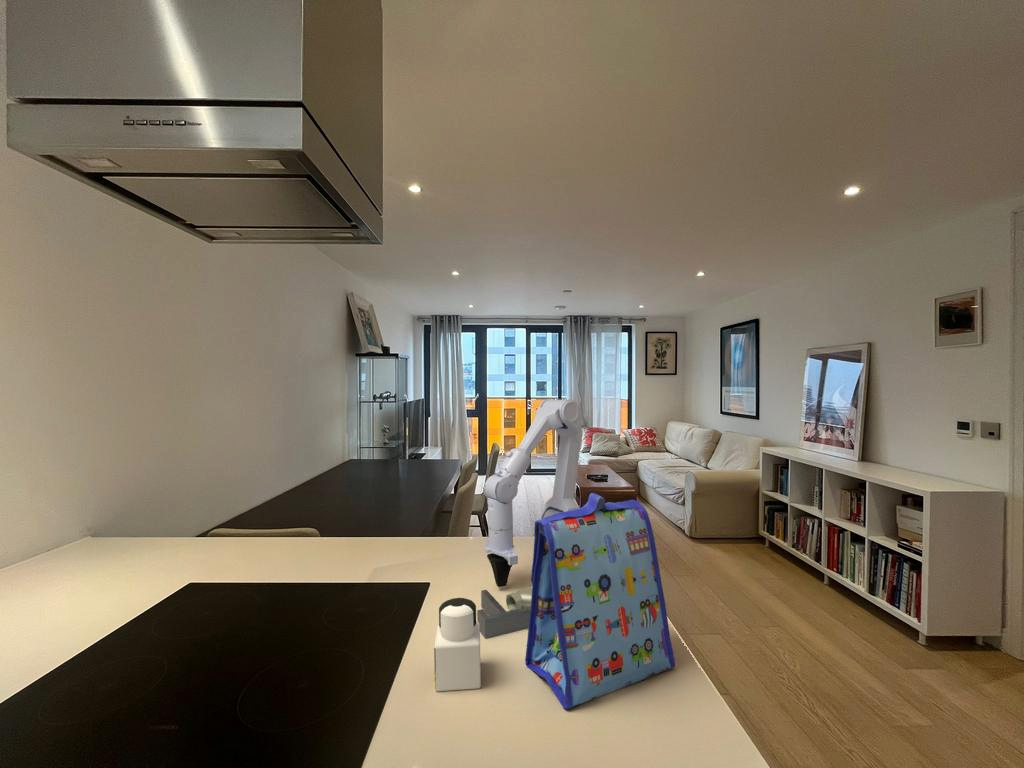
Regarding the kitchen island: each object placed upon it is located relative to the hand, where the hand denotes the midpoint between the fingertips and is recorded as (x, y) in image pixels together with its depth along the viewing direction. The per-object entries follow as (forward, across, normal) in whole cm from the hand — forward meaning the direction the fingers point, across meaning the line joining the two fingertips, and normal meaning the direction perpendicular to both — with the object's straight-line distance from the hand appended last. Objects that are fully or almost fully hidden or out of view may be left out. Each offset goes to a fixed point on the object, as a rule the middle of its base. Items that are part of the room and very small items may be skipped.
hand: (501, 585), depth 107 cm
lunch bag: (+1, +35, +3) cm, 35 cm away
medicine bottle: (+1, +27, -19) cm, 33 cm away
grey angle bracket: (+1, +12, 0) cm, 12 cm away
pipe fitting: (+2, +11, +2) cm, 11 cm away
